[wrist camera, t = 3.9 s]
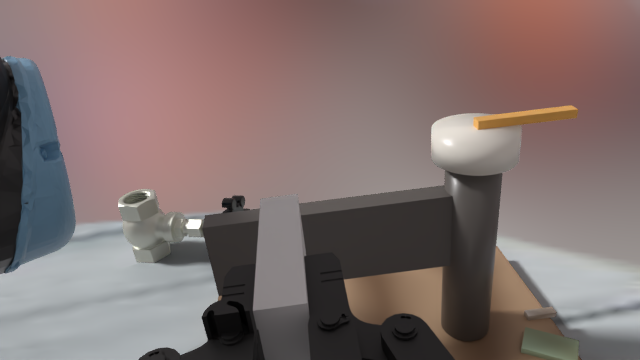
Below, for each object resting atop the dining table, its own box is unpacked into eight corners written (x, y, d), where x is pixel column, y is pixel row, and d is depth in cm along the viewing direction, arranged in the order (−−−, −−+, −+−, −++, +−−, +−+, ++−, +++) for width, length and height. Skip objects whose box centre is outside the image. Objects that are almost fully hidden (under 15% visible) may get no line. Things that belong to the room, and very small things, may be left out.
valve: (117, 273, 45) (232, 279, 43) (96, 214, 42) (219, 218, 40) (152, 234, 51) (256, 238, 48) (136, 181, 48) (245, 182, 45)
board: (200, 451, 28) (194, 430, 27) (224, 296, 40) (220, 278, 40) (598, 394, 29) (603, 373, 28) (500, 259, 41) (502, 241, 40)
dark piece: (233, 383, 30) (179, 173, 23) (238, 329, 34) (194, 138, 28) (561, 338, 31) (601, 121, 24) (526, 290, 35) (551, 95, 28)
